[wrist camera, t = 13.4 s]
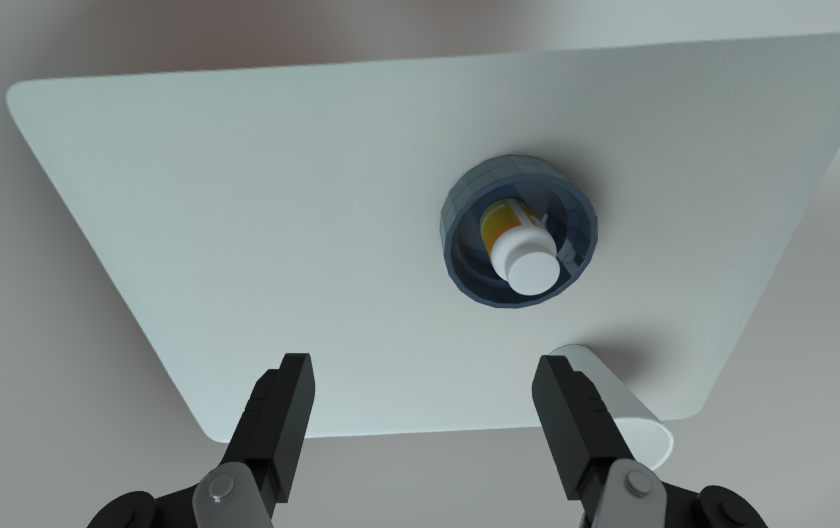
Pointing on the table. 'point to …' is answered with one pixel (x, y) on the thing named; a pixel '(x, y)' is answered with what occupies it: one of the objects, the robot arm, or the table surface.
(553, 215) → the bowl
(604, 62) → the table surface
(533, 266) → the supplement bottle
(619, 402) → the cup
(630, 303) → the table surface
